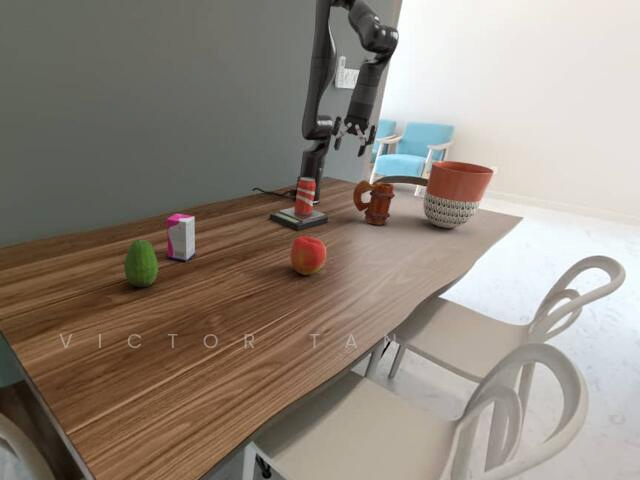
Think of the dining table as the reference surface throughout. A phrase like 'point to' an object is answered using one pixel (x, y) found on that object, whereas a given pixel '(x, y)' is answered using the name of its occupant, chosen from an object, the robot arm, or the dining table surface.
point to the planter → (454, 192)
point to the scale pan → (300, 217)
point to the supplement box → (181, 237)
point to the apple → (307, 255)
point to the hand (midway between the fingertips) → (347, 153)
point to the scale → (296, 221)
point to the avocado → (141, 264)
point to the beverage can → (305, 195)
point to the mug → (374, 201)
